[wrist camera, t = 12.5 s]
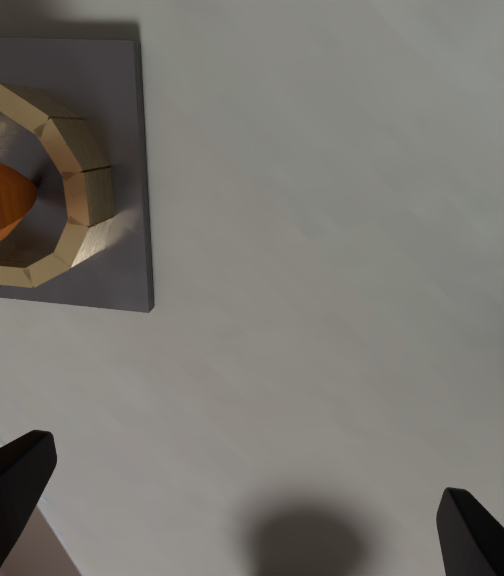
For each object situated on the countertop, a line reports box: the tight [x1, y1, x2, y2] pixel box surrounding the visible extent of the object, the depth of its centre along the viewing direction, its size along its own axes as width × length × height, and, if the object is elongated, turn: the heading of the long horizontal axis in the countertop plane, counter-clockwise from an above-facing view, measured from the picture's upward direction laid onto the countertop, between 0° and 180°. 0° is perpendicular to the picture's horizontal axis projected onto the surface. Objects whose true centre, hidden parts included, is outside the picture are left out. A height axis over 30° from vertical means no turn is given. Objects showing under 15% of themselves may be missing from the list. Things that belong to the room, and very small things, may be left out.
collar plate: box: [0, 37, 154, 313], centre depth 19 cm, size 12×13×3 cm
